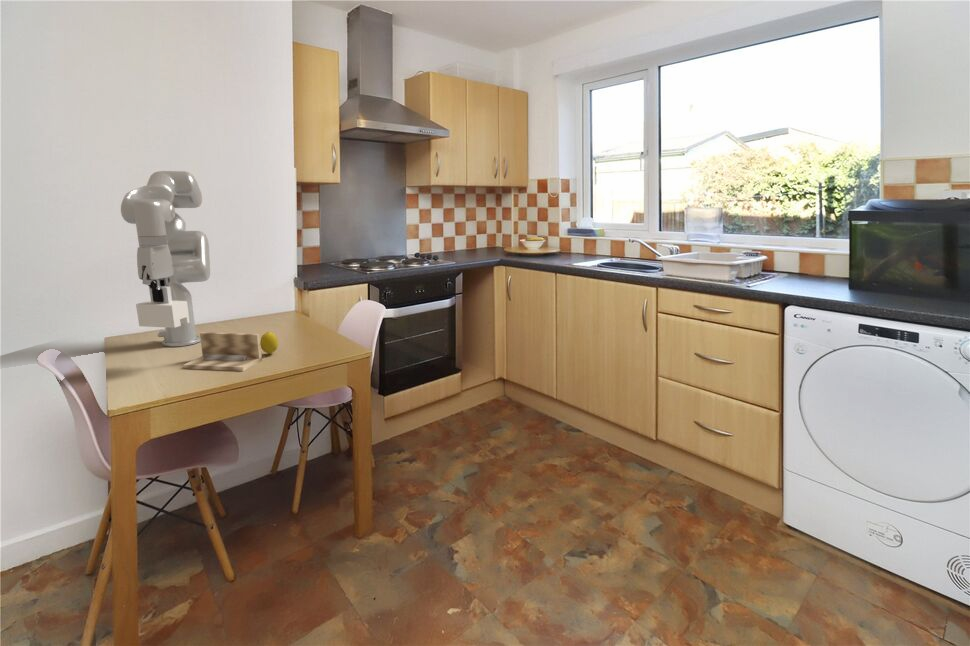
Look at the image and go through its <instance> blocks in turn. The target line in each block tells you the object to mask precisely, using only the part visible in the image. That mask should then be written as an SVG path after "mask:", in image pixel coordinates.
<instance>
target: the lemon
mask: <svg viewBox="0 0 970 646" xmlns="http://www.w3.org/2000/svg"><path fill="white" fill-rule="evenodd" d="M260 344H261V351H263V352H264V353H266V354H268V355H273V353H274V352H276V351H277V349H278V346H279V342H278V338H277V335H275V333H273V332H270V331H267V332H265V333H264V334H263V335H262V336H261V337H260Z"/></svg>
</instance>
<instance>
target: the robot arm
mask: <svg viewBox="0 0 970 646" xmlns="http://www.w3.org/2000/svg"><path fill="white" fill-rule="evenodd" d="M202 202H203V196H202V192H201V188H200V187H199V184H198V181H197V180H196V178H195V176H194V174H192V173H191V172H189V171H185V170H181V171H180V170H174V171H173V170H160V171H156V172H155V171H154V172H153V173H152V174H151V175H150V176H149V179H148V181H147V183H146V185H143V186H141V187H137V188H135V189H132V190H130V191H128V192H126V193H125V194H124V197H123V198H122V201H121V204H120V214H121V217H122V219H123V220H124V222H126V223H128V224H131V225H135V227H136V234H137V240H138V247H137V248H136V264H137V274H138V279H139V280H142V281H141V282H142V285H145V286H147V287H148V288H149V287H150V289H152V295H153V301H154V302H164V298H163V291H162V289H160V288H161V287H160V286H166V287H170V289H171V296H172V301H187V306H188V314H189V323H181V326H178V327H175V328H169V327H164V328H165V330H160V331H159V332H158V334H157V337H158V338H163V339H164V340H162V346H165V347H171V348H172V347H174V348H175V347H185V346H191V345H194V344H198V343H201V339H200V335H197V331H196V324H195V316H194V307H193V300H192V298H193V297H192V294H191V292H190V291H189V289H188V288H187V287H186V286H184V285H183V284H185V283H201V282H205V281H208V280H209V279H210V275H211V266H210V265H211V263H210V262H211V260H210V245H209V240H208V237H207V235H206V234H205V233H204V232H203V231H200V230H187V229H186V225H187V224H186V221H185V220H184V219H183V218H182V217H181V216H180V214H178V213H177V212H176V209H197V208H199V207H201V205H202Z"/></svg>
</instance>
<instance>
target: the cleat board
mask: <svg viewBox="0 0 970 646" xmlns="http://www.w3.org/2000/svg"><path fill="white" fill-rule="evenodd" d="M199 336H200V339H201V341H200V344H201V345H200V347H201V354H202V356H199V357H197V358H195V359H192V360H190V361H188V362H186V363H184V364H183V365H182V366H183V369H189V370H190V369H191V370H192V369H193V370H212V371H215V370H216V371H235V372H245V371H246V370H248V369H249V368H251V367H253V366H255V365H257V364H258V363H260V362H262V361H263V355H262V348H261V344H260V341H261V337H260V333H243V332H240V333H239V332H236V333H235V332H213V331H211V332H210V331H202V332H199Z"/></svg>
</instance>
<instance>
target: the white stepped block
mask: <svg viewBox="0 0 970 646" xmlns="http://www.w3.org/2000/svg"><path fill="white" fill-rule="evenodd" d="M160 287H161V288H160V289H162V291H163V298H164V302H154V301H153V295H152V289H150V287H149V286H148V290H149V296H150V299H149V300H146V301H142V302H139V303H136V304H135V306H136V314H137V320H138V326H139V327H147V328H148V327H150V328H165V327H169V328H175V327H178V326H181V323H189V314H188V306H187V301H172V296H171V289H170V287H166V286H160Z"/></svg>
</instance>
